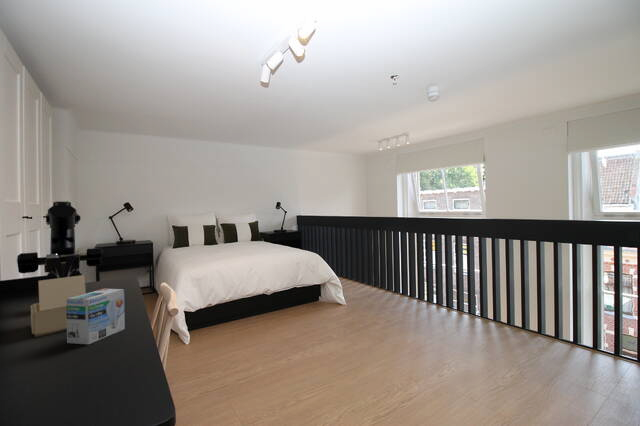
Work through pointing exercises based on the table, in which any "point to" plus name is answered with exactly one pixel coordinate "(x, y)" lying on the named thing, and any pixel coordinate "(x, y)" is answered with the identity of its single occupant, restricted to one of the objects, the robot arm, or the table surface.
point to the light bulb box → (95, 315)
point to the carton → (48, 320)
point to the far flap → (59, 291)
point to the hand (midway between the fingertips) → (63, 283)
